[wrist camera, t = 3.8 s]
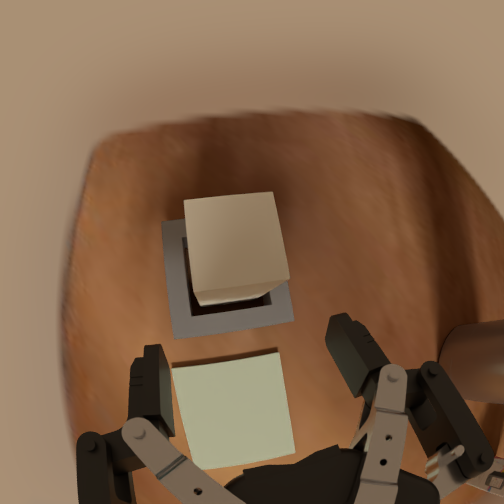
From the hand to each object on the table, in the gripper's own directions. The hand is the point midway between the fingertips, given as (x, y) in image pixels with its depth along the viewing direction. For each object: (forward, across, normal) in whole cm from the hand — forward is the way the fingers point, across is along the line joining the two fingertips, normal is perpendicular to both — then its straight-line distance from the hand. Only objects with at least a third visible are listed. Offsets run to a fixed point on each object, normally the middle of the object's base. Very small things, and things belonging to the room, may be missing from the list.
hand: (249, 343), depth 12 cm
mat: (+3, +1, +12) cm, 13 cm away
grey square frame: (+11, 0, +4) cm, 12 cm away
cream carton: (+11, 0, +4) cm, 12 cm away
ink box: (-17, -34, +32) cm, 49 cm away
